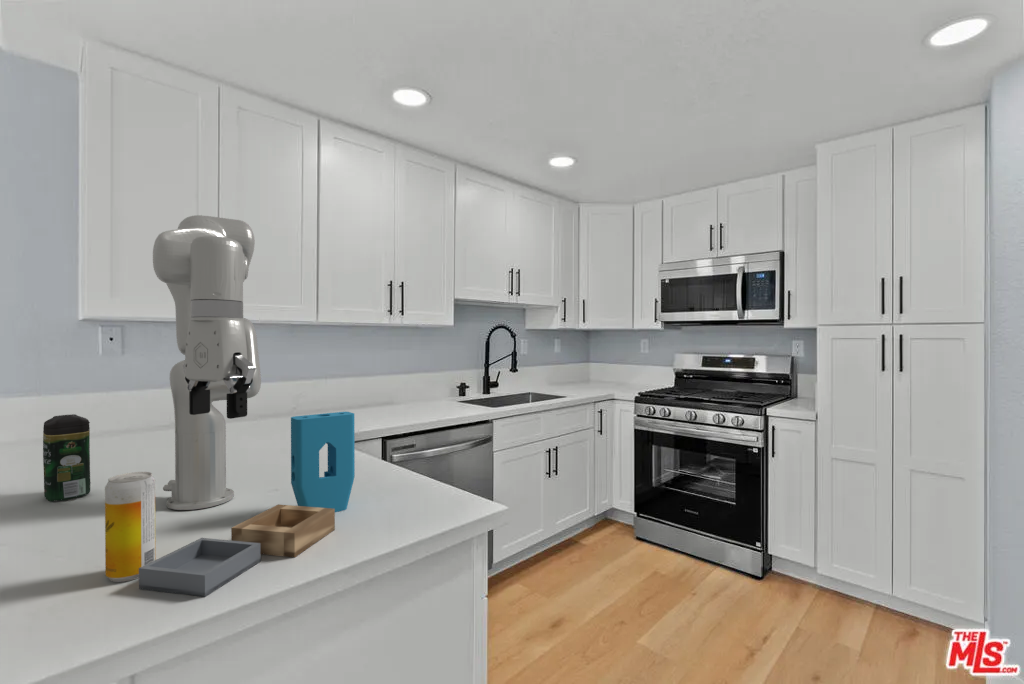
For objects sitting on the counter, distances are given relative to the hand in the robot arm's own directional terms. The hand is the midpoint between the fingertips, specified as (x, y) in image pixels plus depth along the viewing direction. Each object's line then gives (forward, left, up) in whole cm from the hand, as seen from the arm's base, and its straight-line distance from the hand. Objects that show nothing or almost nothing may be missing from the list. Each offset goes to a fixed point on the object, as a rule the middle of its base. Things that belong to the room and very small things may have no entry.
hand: (218, 415), depth 82 cm
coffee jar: (-58, +20, -24) cm, 66 cm away
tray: (+3, -6, -23) cm, 24 cm away
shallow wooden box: (+7, +8, -23) cm, 25 cm away
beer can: (-8, -8, -24) cm, 26 cm away
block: (+5, +23, -24) cm, 33 cm away
